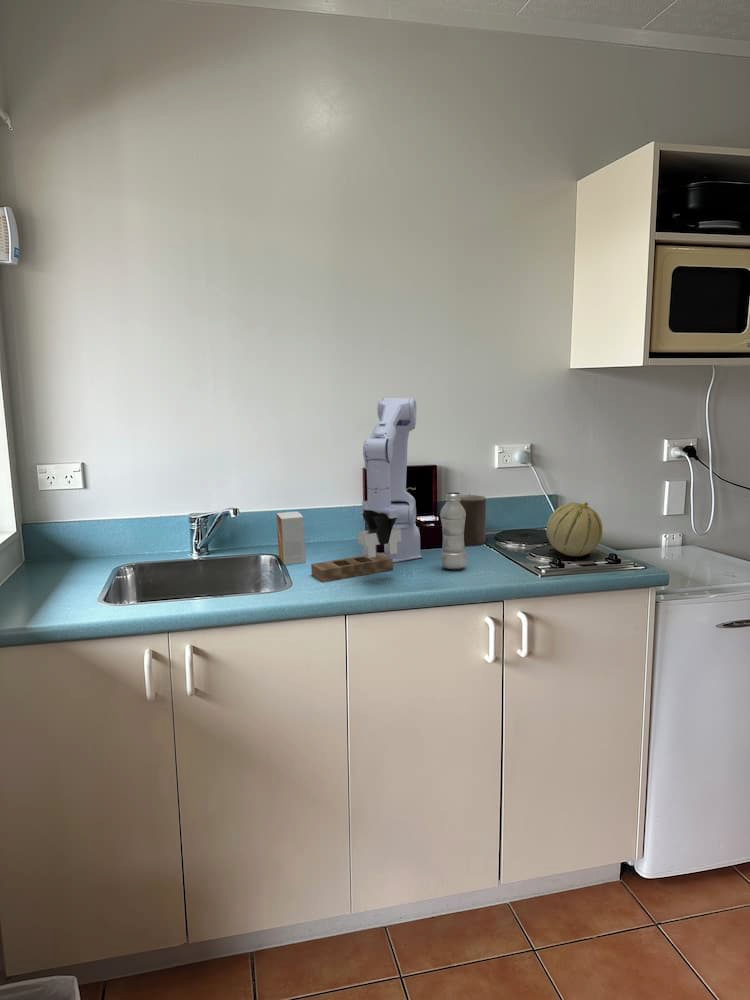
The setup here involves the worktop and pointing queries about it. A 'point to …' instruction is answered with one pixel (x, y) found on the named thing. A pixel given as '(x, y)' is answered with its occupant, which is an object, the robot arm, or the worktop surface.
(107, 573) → the worktop surface
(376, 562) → the walnut rail
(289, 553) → the small box
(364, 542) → the pale wooden bridge block
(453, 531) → the plastic bottle
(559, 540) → the cantaloupe
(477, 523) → the pillar candle
